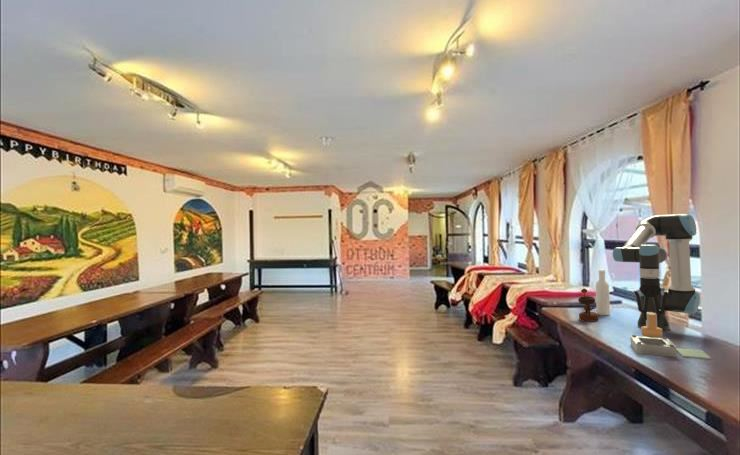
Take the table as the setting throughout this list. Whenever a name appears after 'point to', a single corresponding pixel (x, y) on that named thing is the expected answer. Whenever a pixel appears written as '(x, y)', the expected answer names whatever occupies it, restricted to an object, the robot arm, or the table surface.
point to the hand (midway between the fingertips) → (651, 326)
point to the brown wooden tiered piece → (587, 308)
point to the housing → (653, 346)
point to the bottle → (602, 295)
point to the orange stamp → (652, 328)
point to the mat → (692, 353)
